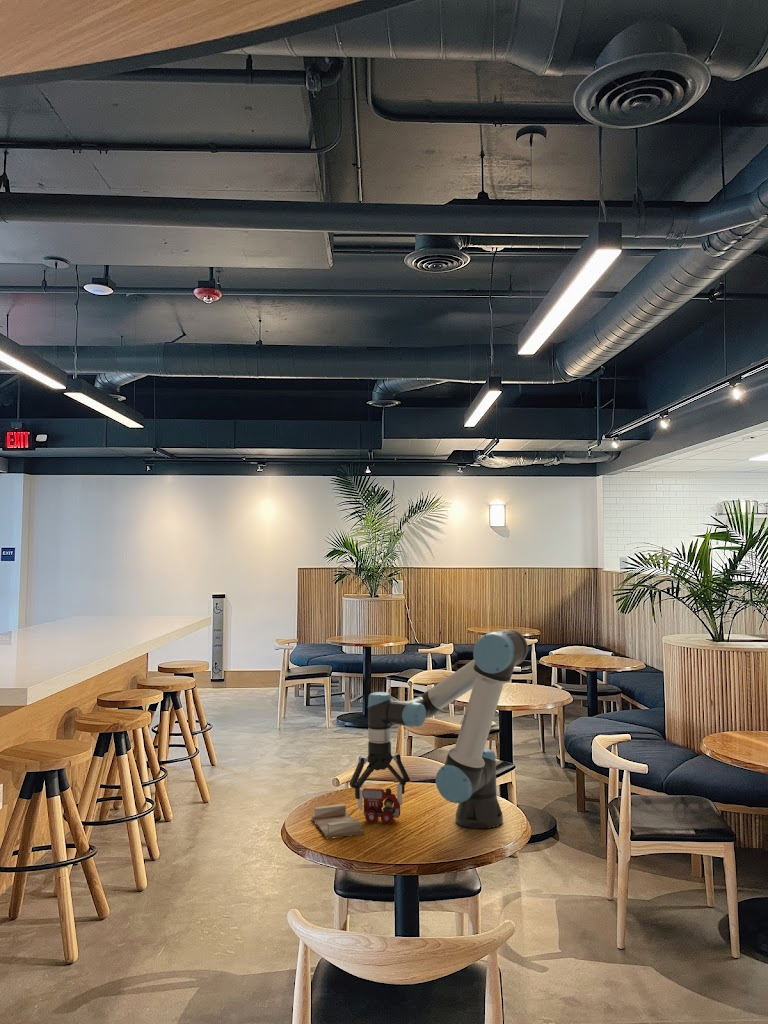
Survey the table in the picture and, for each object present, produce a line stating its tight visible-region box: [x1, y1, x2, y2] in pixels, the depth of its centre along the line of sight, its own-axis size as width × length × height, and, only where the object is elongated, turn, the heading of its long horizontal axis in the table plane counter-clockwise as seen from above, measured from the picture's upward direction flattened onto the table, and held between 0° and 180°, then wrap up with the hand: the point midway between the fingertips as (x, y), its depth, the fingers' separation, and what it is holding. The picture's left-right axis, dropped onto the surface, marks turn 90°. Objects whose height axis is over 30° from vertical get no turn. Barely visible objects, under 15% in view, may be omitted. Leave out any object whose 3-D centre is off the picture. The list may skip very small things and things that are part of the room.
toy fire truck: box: [362, 787, 401, 825], centre depth 250 cm, size 7×12×10 cm, turn 80°
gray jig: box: [311, 803, 365, 839], centre depth 245 cm, size 20×12×4 cm, turn 19°
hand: (380, 806), depth 250 cm, fingers open, 13 cm apart
